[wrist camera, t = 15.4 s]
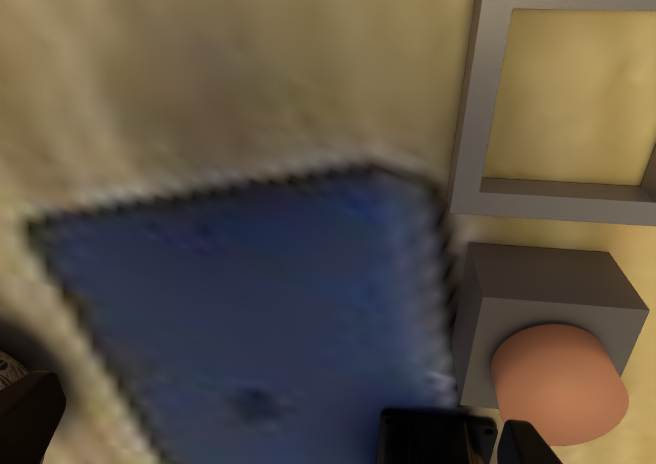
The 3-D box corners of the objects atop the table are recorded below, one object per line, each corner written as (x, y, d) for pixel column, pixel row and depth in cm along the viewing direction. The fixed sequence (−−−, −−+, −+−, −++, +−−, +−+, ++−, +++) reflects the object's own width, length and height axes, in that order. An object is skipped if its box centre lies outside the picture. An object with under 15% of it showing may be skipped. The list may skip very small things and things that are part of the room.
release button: (570, 364, 23) (607, 451, 19) (473, 355, 23) (490, 439, 19) (598, 288, 20) (646, 369, 16) (490, 279, 21) (512, 356, 17)
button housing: (573, 353, 24) (602, 419, 21) (451, 342, 25) (460, 405, 22) (608, 252, 21) (649, 310, 18) (469, 242, 22) (482, 296, 18)
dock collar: (657, 209, 20) (675, 227, 19) (446, 197, 21) (449, 213, 20) (750, -25, 16) (781, -23, 14) (479, -30, 17) (486, -28, 15)
